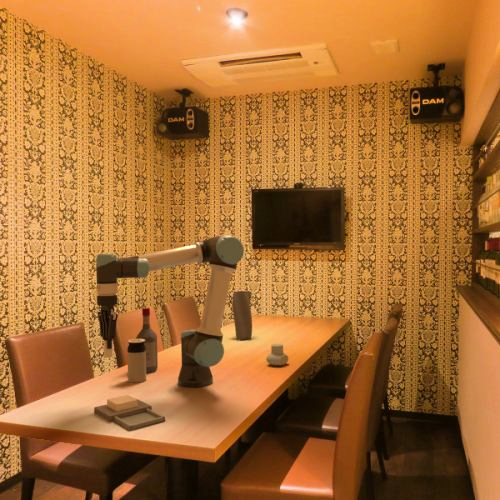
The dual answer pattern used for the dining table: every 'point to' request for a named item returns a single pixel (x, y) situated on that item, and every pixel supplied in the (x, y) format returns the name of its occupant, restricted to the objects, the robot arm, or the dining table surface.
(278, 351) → the air freshener
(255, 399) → the dining table surface
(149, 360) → the liquor
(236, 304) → the vase
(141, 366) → the travel mug
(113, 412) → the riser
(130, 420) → the tray
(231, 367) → the dining table surface
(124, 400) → the coaster
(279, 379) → the dining table surface
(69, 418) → the dining table surface
